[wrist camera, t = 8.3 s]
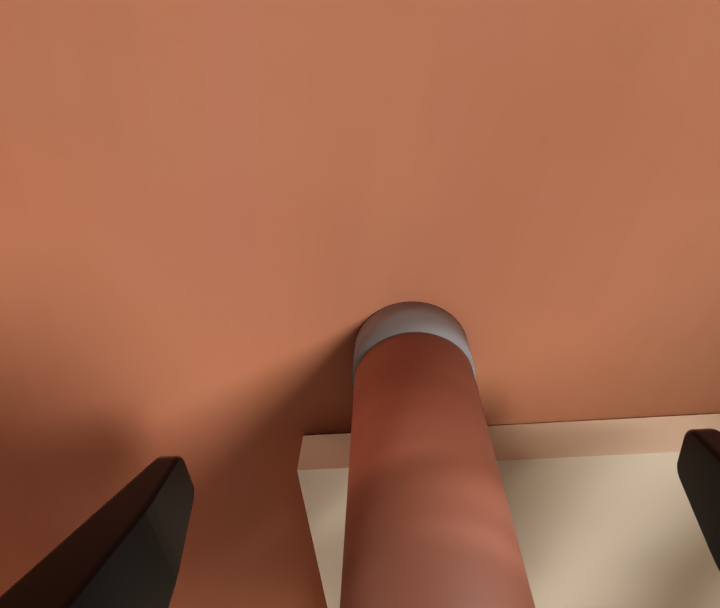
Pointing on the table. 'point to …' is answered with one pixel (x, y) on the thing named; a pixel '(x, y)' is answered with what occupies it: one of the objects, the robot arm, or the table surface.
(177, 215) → the table surface
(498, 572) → the brown cylinder
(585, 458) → the board
